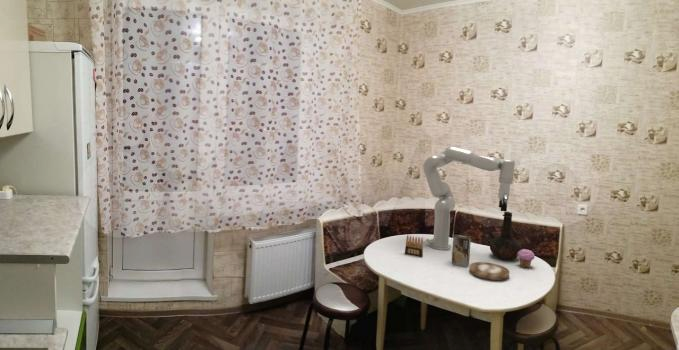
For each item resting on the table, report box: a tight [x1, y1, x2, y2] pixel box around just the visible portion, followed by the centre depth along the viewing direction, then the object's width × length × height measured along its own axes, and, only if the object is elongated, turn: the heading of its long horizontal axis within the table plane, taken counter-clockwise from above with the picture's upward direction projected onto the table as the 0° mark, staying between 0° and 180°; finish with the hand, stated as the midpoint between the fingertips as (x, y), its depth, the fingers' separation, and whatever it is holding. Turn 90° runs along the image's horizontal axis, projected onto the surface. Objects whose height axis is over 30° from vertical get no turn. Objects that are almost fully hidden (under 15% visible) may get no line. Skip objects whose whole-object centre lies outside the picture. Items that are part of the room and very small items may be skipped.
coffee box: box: [451, 234, 472, 268], centre depth 227 cm, size 9×6×16 cm
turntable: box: [469, 261, 511, 281], centre depth 214 cm, size 20×20×2 cm
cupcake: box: [517, 248, 535, 269], centre depth 227 cm, size 9×9×10 cm
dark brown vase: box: [489, 211, 522, 261], centre depth 240 cm, size 18×18×28 cm
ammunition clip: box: [404, 234, 424, 258], centre depth 239 cm, size 11×2×12 cm, turn 60°
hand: (502, 209), depth 234 cm, fingers open, 9 cm apart
